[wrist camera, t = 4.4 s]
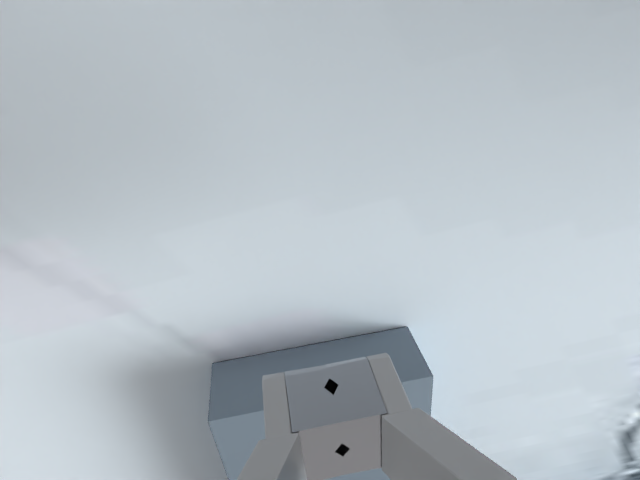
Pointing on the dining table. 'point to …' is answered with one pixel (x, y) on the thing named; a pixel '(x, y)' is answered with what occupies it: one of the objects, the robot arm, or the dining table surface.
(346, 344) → the shell
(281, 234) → the dining table surface
